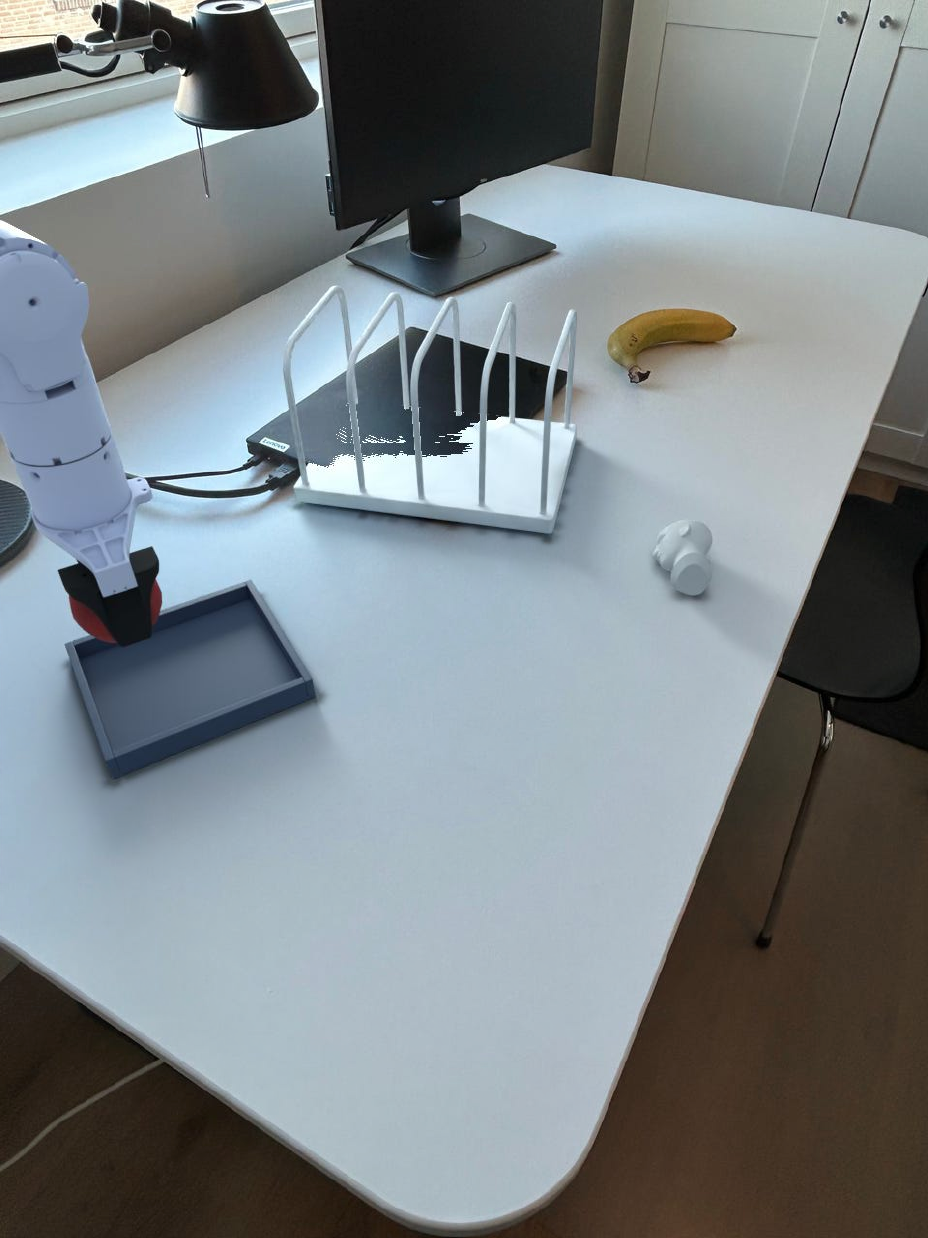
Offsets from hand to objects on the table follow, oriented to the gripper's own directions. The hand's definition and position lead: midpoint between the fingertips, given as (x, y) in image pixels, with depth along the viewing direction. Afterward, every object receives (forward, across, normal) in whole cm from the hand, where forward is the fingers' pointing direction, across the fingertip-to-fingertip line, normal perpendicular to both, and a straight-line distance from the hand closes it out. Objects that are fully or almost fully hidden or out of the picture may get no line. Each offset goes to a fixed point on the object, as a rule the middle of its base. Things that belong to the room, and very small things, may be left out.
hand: (123, 611), depth 60 cm
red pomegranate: (+3, 0, 0) cm, 3 cm away
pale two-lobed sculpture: (+9, -8, -44) cm, 46 cm away
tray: (+9, +1, -3) cm, 9 cm away
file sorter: (+9, +16, -34) cm, 38 cm away
